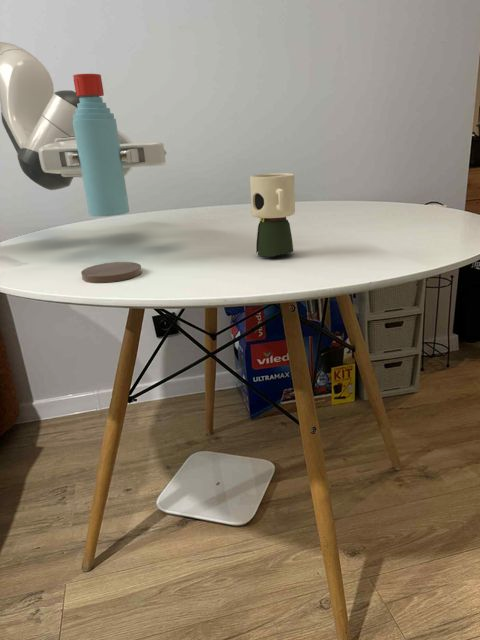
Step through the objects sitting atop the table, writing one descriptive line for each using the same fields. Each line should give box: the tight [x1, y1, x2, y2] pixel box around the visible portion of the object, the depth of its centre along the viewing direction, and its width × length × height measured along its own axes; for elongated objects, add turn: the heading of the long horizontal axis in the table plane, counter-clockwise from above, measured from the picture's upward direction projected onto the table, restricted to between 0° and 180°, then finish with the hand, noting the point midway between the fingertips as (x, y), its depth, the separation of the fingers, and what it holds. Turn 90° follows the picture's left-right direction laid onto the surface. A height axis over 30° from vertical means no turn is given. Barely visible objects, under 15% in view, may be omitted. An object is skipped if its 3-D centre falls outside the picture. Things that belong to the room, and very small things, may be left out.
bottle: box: [73, 95, 130, 218], centre depth 78 cm, size 6×6×20 cm
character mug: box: [249, 172, 296, 258], centre depth 82 cm, size 11×7×13 cm, turn 15°
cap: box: [72, 73, 105, 97], centre depth 75 cm, size 4×4×3 cm
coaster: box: [80, 261, 143, 284], centre depth 78 cm, size 9×9×1 cm
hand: (99, 158), depth 78 cm, fingers closed on bottle, 6 cm apart
